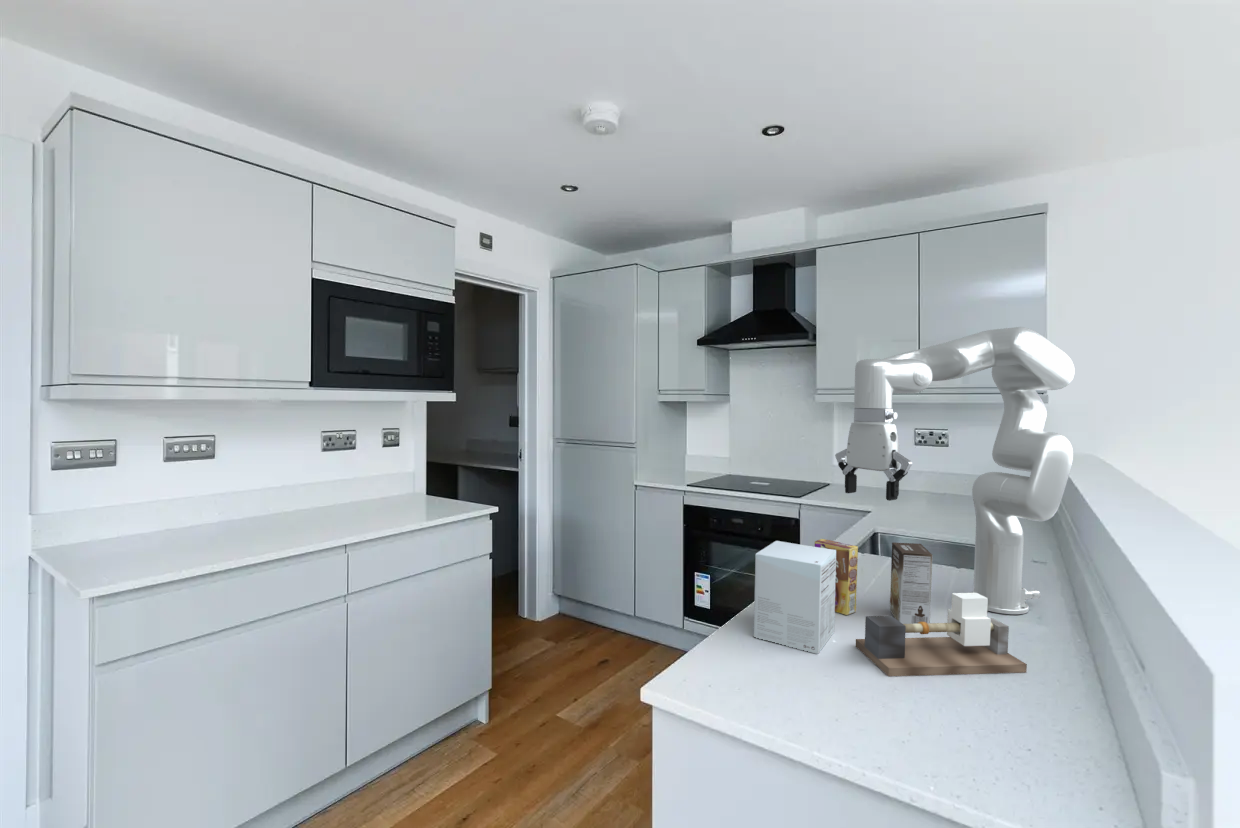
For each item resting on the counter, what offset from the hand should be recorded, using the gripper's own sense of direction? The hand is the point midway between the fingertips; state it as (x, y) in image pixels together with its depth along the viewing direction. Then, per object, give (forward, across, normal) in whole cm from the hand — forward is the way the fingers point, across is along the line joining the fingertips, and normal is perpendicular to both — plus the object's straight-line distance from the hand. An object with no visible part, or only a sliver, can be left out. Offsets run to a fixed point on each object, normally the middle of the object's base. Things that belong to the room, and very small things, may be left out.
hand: (870, 496), depth 126 cm
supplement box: (+28, +4, +19) cm, 34 cm away
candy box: (+28, +9, -1) cm, 29 cm away
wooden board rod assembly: (+28, -17, +4) cm, 33 cm away
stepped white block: (+24, -20, -1) cm, 32 cm away
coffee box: (+28, -4, -10) cm, 30 cm away
